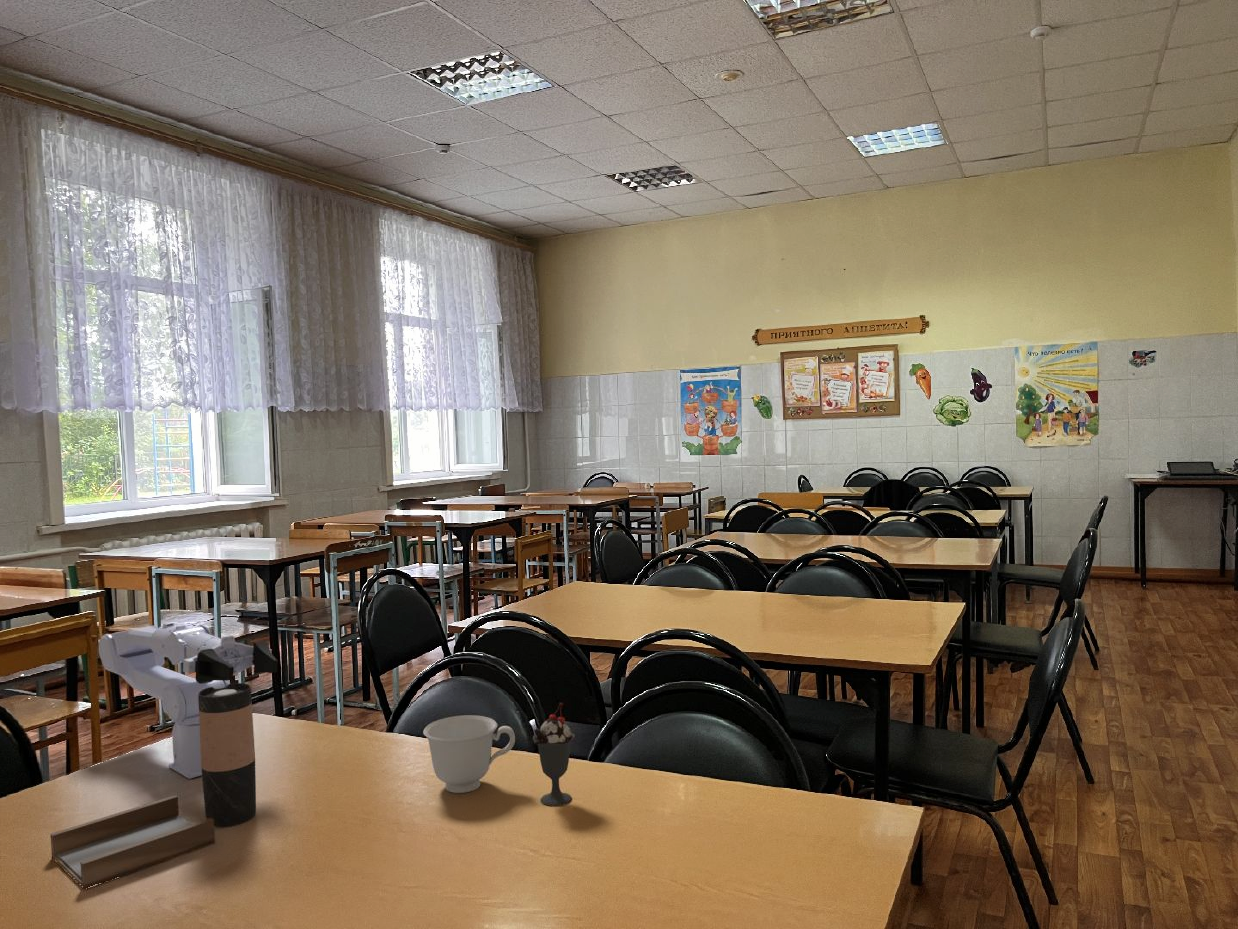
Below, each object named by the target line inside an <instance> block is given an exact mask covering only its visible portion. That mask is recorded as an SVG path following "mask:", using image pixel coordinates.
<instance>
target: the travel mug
mask: <svg viewBox="0 0 1238 929" xmlns="http://www.w3.org/2000/svg"><path fill="white" fill-rule="evenodd" d="M198 703H199V726H200V749H201V768H202V769H201V770H202V775H201V779H202V790H203V803H204V814H205V820H206V819H209V818H212V819H214V828H228V827H233V826H238V825H241V824H244V823H246V822H248V821H250V820H252V819H253V818H254V817H255V815H256V813H257V796H256V795H257V790H256V789H257V788H256V787H257V785H256V784H257V783H256V782H257V781H256V778H257V777H256V750H255V733H254V732H255V731H254V717H253V704H252V686H251V684H248V683H244V682H231V683H230V684H229V685H228V686H226V687H224V688H220V689H215V688H213V687H209V688H206V689H203V690H202V691H200V692H199V694H198Z"/></svg>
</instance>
